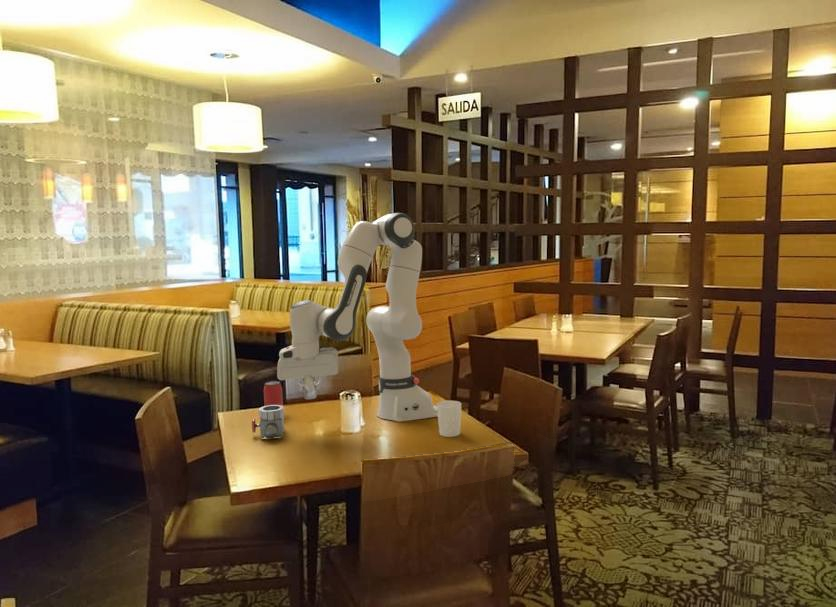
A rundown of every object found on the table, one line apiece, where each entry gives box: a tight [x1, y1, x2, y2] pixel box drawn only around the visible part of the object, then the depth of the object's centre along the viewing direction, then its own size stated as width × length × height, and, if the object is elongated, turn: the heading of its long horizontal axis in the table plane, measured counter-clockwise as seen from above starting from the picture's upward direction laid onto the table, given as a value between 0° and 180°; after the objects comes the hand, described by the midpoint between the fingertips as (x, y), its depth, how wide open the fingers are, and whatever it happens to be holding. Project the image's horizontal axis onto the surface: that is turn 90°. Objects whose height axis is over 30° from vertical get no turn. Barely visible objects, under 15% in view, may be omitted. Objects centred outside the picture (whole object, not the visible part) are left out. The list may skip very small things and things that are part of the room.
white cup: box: [436, 400, 462, 438], centre depth 205 cm, size 8×8×10 cm
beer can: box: [263, 380, 284, 407], centre depth 233 cm, size 7×7×12 cm
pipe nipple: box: [302, 376, 317, 400], centre depth 213 cm, size 4×4×8 cm
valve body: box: [251, 405, 285, 439], centre depth 210 cm, size 10×14×9 cm
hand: (309, 389), depth 213 cm, fingers closed on pipe nipple, 4 cm apart
